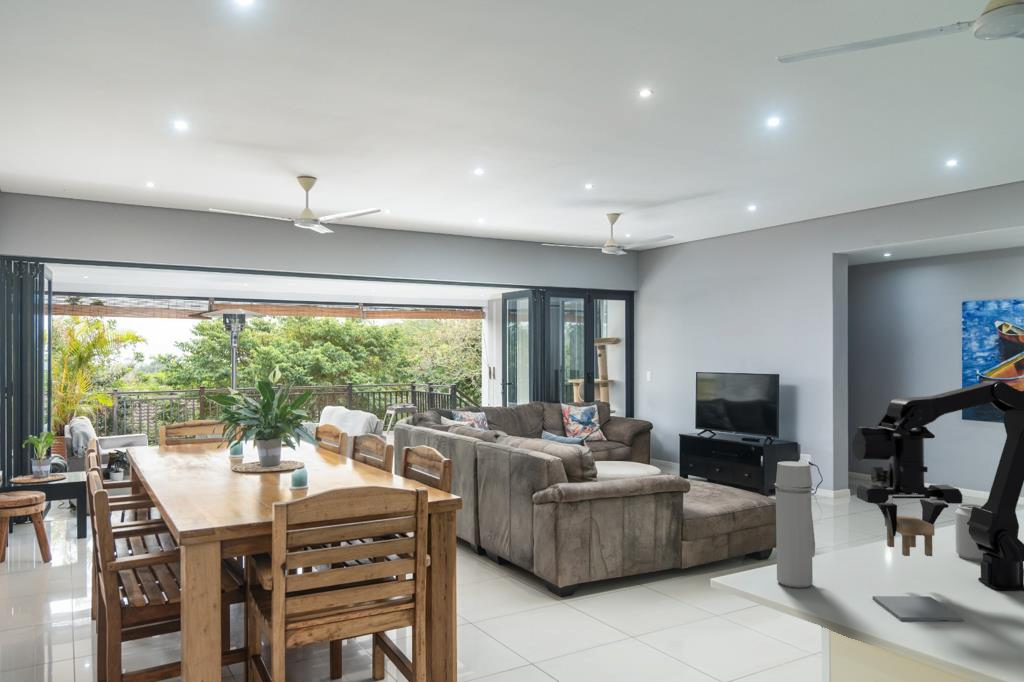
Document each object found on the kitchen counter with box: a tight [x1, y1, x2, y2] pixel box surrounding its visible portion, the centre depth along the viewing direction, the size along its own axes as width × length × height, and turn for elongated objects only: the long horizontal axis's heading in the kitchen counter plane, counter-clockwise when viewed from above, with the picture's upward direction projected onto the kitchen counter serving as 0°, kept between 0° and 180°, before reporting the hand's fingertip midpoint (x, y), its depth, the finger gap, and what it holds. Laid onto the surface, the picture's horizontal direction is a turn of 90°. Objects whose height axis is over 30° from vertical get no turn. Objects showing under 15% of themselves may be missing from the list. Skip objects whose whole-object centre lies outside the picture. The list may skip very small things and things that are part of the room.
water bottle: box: [773, 460, 816, 589], centre depth 149 cm, size 9×8×25 cm
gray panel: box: [872, 595, 964, 622], centre depth 133 cm, size 11×11×1 cm
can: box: [954, 503, 986, 562], centre depth 166 cm, size 8×8×12 cm
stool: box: [884, 515, 936, 557], centre depth 146 cm, size 6×8×6 cm
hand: (909, 535), depth 146 cm, fingers closed on stool, 6 cm apart
